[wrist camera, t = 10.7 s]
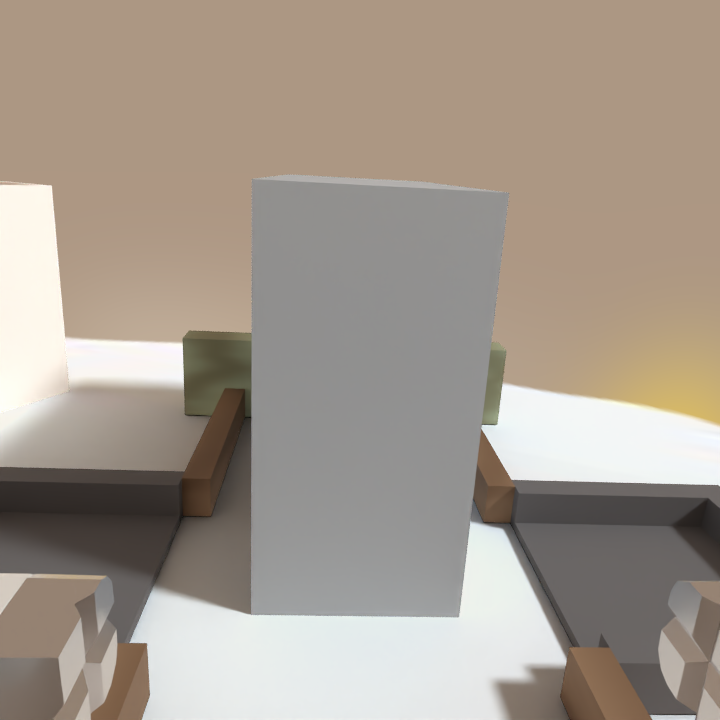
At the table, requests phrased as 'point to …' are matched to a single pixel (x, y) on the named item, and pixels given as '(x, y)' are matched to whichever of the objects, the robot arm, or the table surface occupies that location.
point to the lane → (205, 477)
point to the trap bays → (528, 518)
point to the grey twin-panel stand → (29, 298)
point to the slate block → (367, 390)
